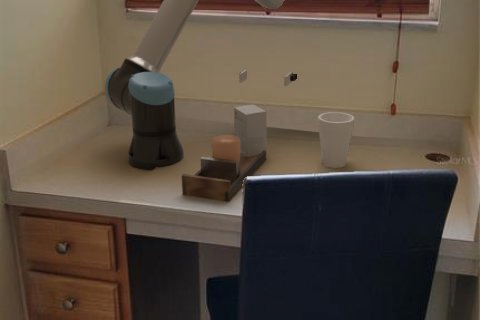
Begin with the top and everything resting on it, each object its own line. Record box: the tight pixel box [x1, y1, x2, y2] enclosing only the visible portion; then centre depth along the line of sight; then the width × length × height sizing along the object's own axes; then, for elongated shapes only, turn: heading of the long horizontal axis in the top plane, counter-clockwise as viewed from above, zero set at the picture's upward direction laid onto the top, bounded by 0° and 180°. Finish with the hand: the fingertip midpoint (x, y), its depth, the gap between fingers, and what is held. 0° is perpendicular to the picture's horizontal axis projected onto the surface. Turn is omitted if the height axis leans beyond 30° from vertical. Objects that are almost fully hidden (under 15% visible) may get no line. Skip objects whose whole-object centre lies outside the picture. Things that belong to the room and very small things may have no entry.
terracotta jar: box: [211, 134, 241, 176], centre depth 155 cm, size 7×7×10 cm
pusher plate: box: [200, 156, 239, 185], centre depth 151 cm, size 9×2×6 cm, turn 70°
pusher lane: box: [181, 150, 267, 203], centre depth 156 cm, size 12×28×6 cm, turn 160°
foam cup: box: [317, 111, 355, 169], centre depth 163 cm, size 10×9×13 cm
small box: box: [233, 104, 267, 157], centre depth 171 cm, size 8×6×13 cm
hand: (262, 79), depth 176 cm, fingers open, 13 cm apart
